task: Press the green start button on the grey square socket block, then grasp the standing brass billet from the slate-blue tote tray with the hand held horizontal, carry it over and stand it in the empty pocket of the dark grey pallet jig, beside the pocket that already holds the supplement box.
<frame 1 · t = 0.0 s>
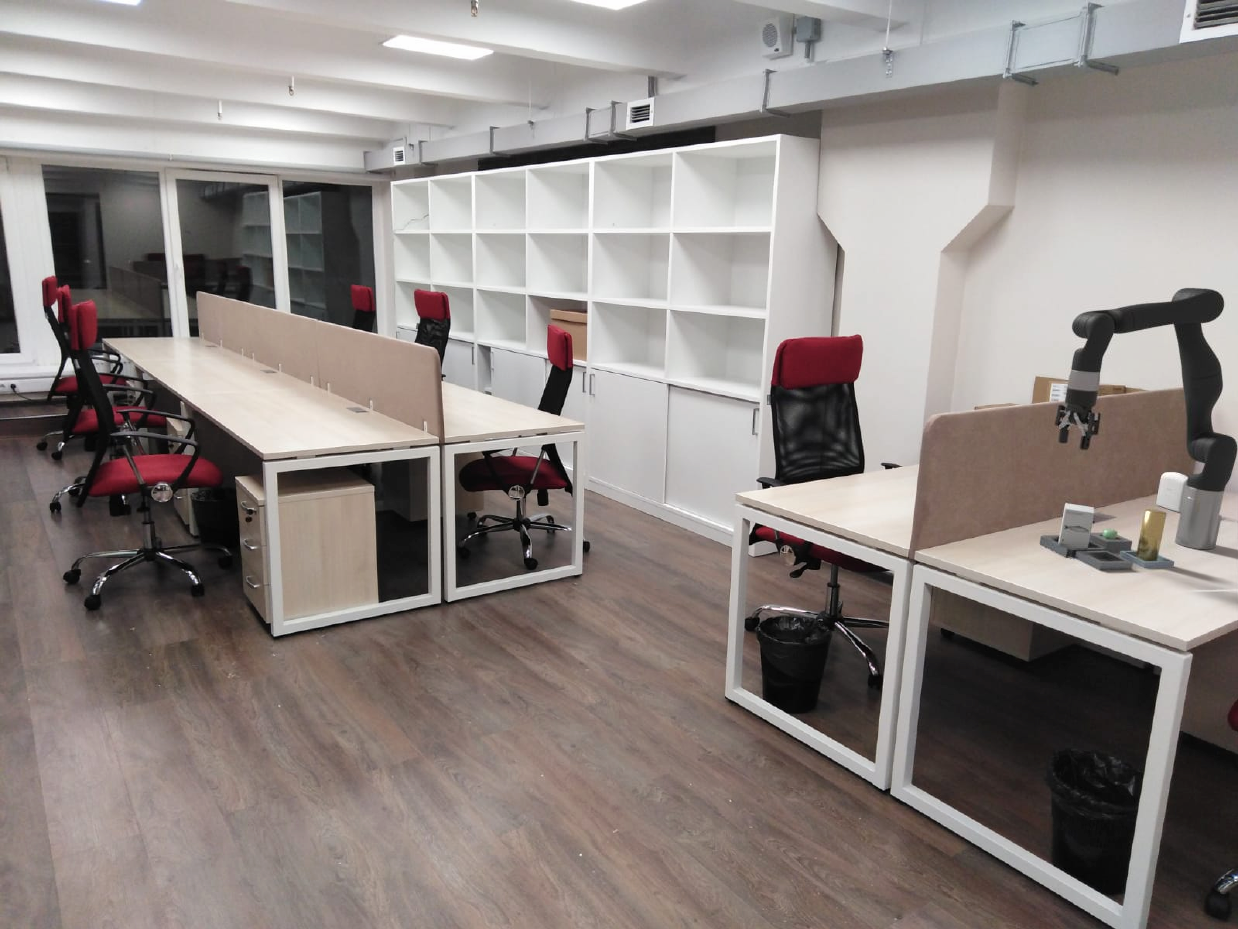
hand: (1072, 446, 237), 29 cm above the table, tool pointing down, fingers open, 8 cm apart
start button: (1109, 535, 244), point 4 cm above the table, slide at 0.0 cm
billet: (1145, 561, 234), resting on tote tray
pallet: (1086, 557, 236), on the table
tote tray: (1145, 563, 234), on the table
supplement box: (1071, 551, 242), resting in pallet
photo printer: (1170, 509, 291), on the table
grey square socket block: (1107, 548, 245), on the table
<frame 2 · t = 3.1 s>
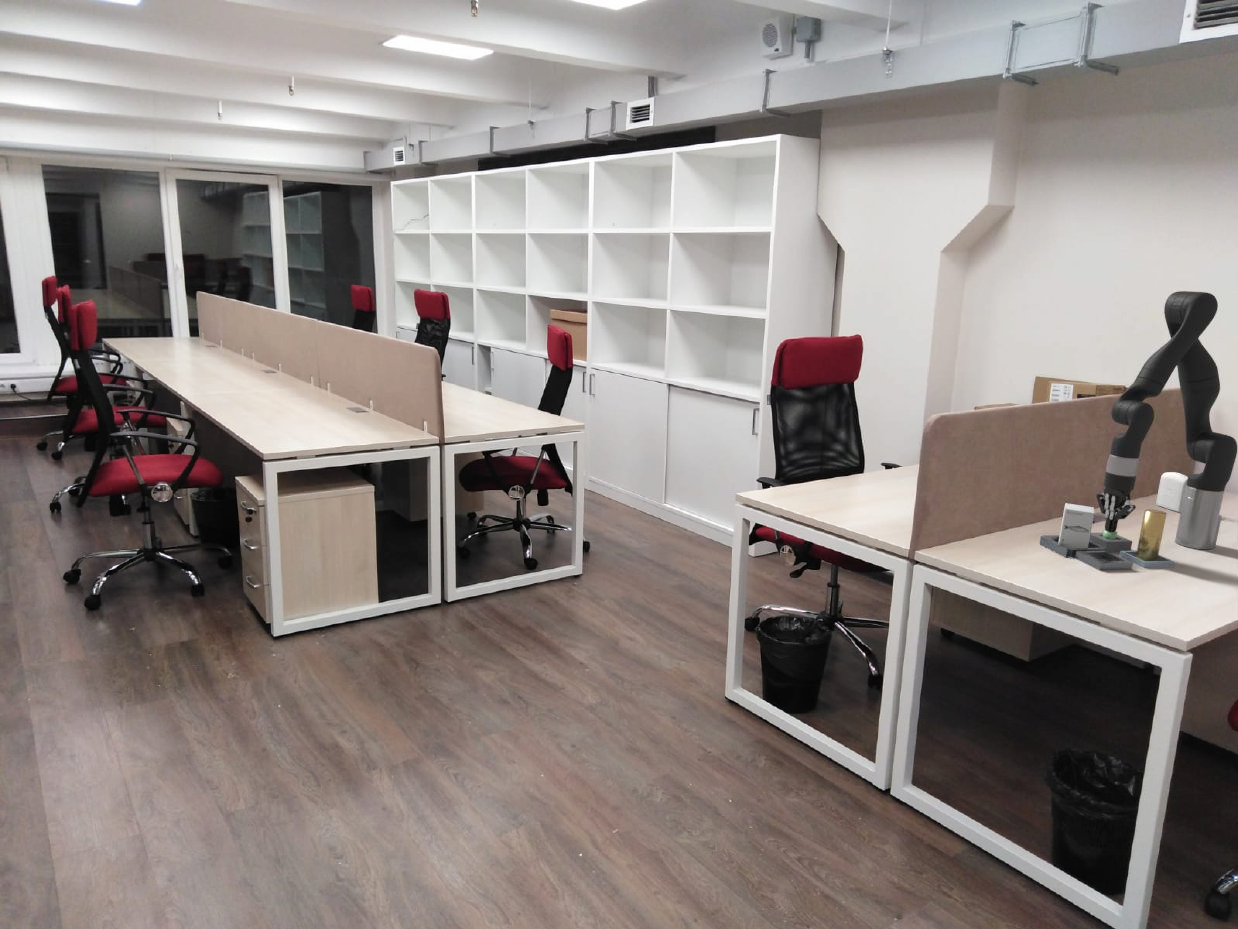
hand: (1109, 531, 244), 5 cm above the table, tool pointing down, fingers closed
start button: (1109, 536, 244), point 4 cm above the table, slide at 0.2 cm, touching gripper
everything else where it was.
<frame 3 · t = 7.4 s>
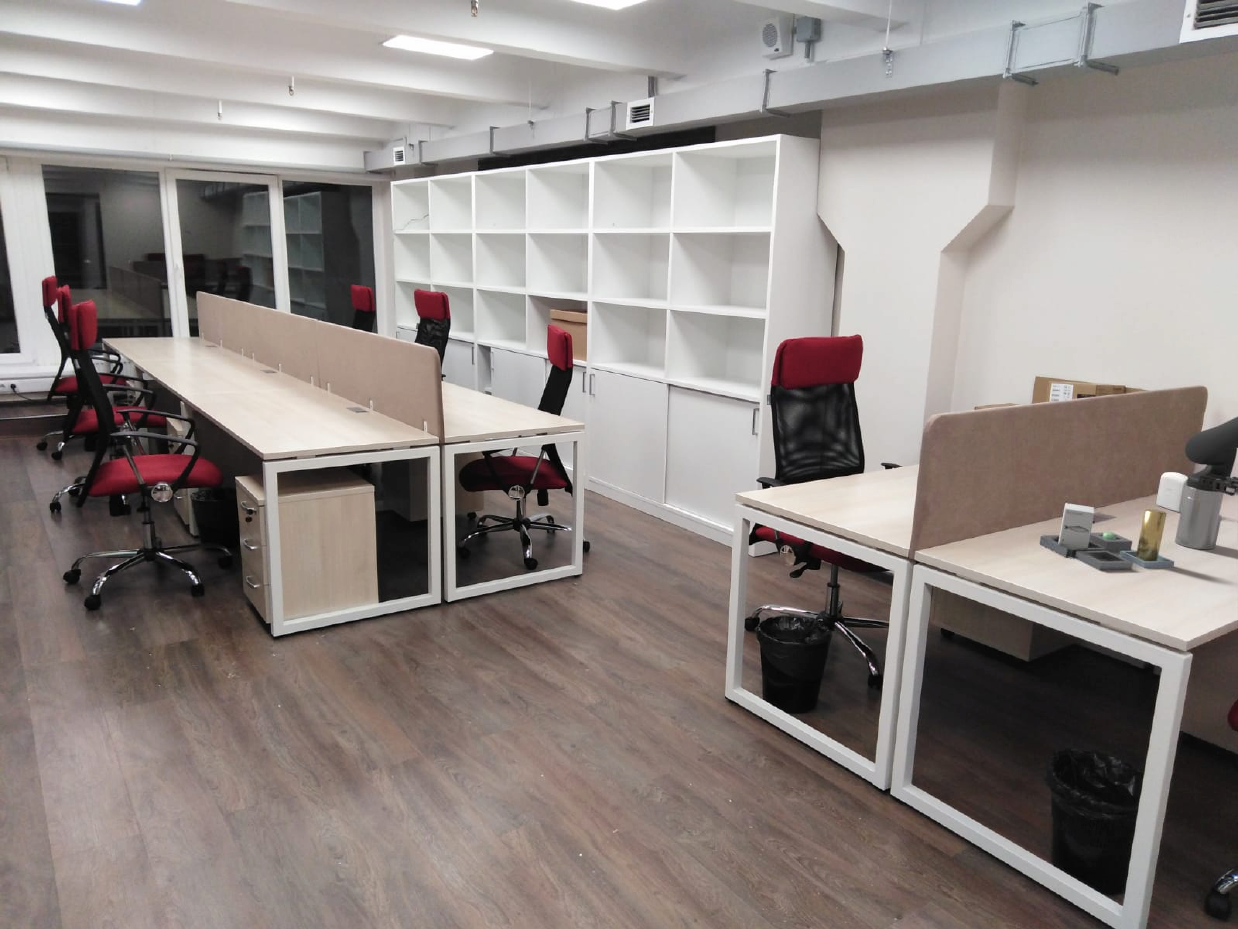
hand: (1204, 478, 219), 26 cm above the table, tool horizontal, fingers open, 3 cm apart
start button: (1109, 538, 244), point 3 cm above the table, slide at 0.9 cm
everything else where it was.
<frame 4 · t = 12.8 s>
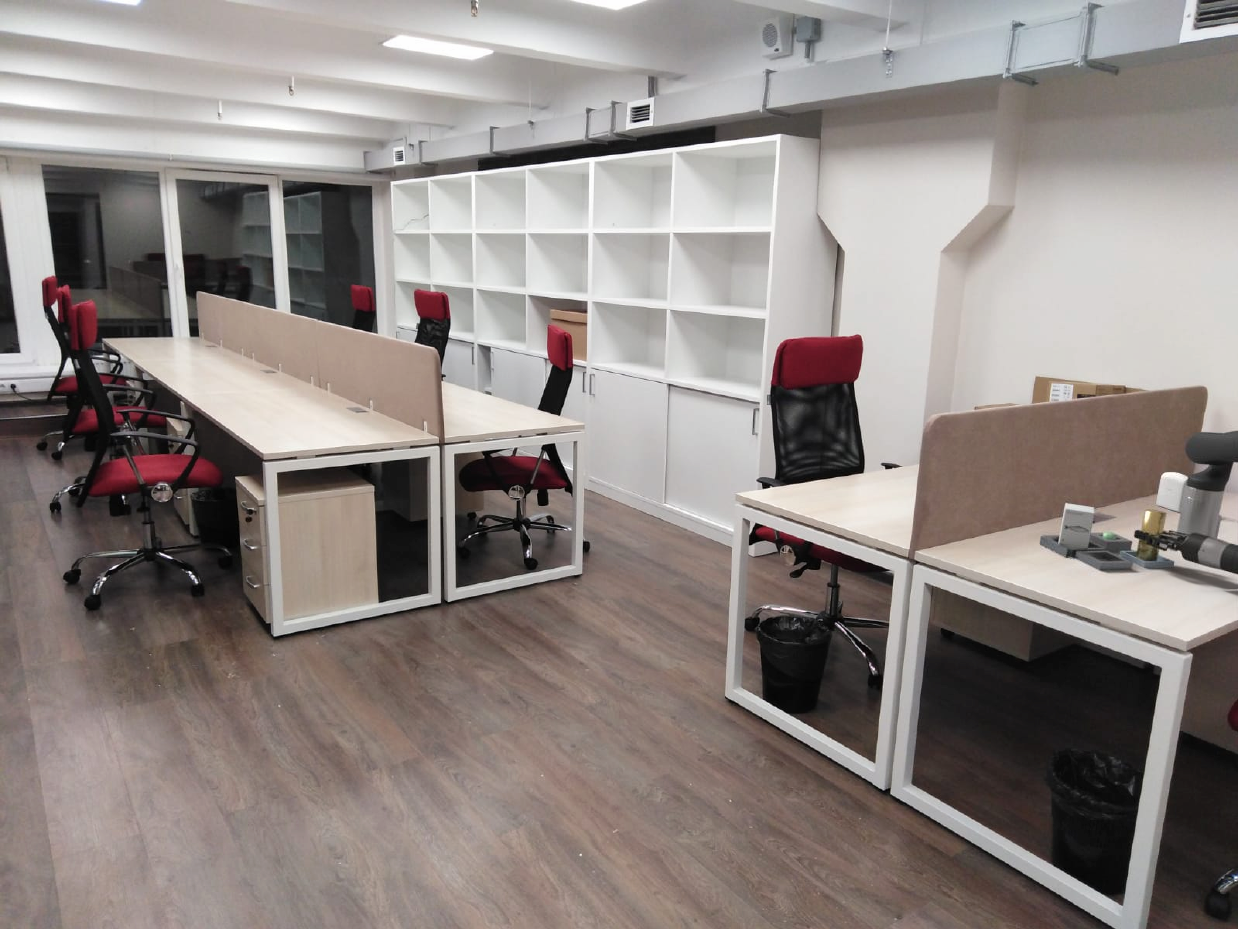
hand: (1141, 532, 234), 8 cm above the table, tool horizontal, fingers closed on billet, 5 cm apart
billet: (1145, 561, 234), point 1 cm above the table, touching gripper, tote tray
everything else where it was.
when the fingers open (9 cm above the table, at t = 17.9 s): billet drops 1 cm, resting in pallet.
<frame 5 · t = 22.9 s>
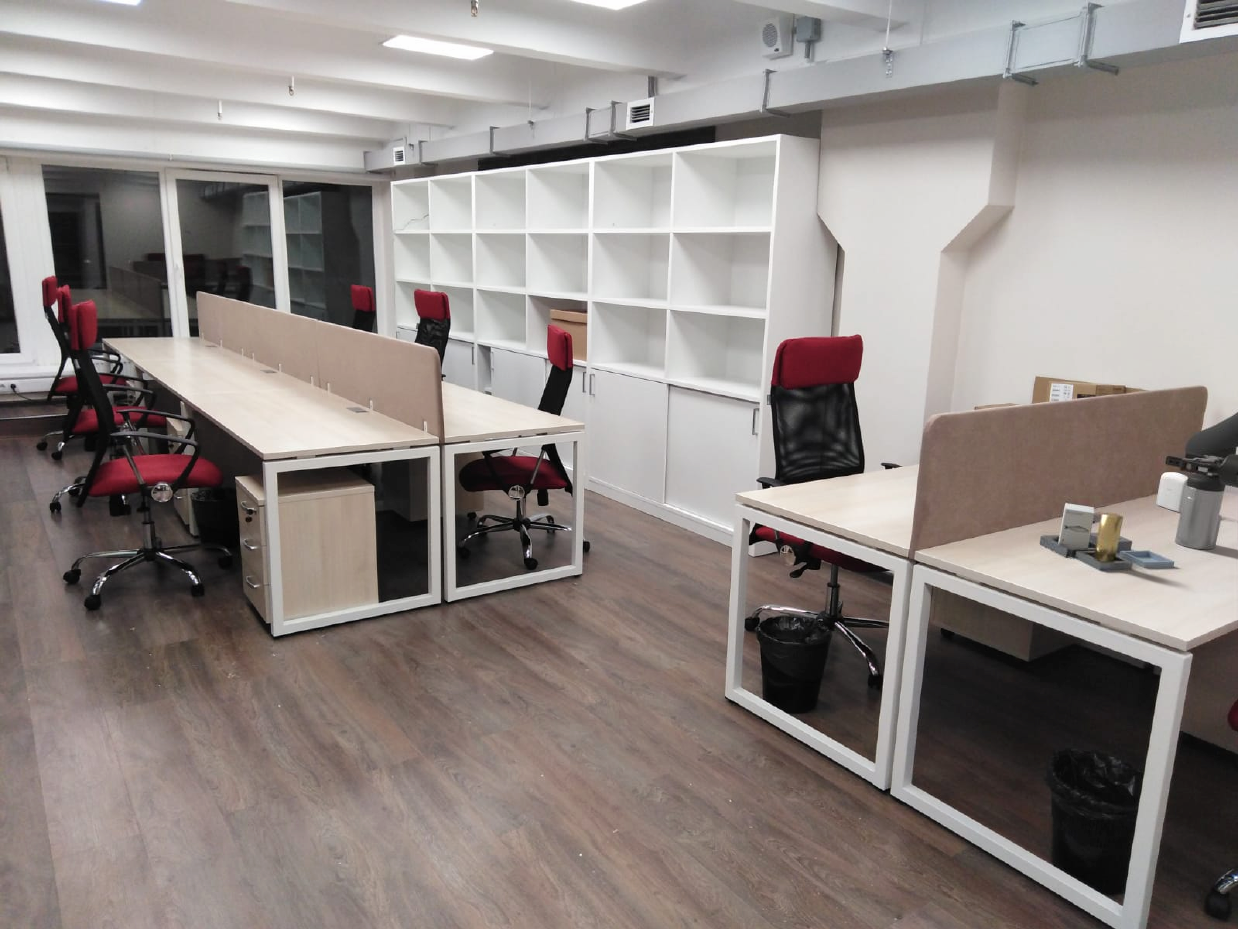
hand: (1176, 458, 213), 32 cm above the table, tool horizontal, fingers open, 8 cm apart
billet: (1103, 565, 230), resting in pallet
everything else where it was.
at the end: billet 0.1 cm from the target spot on the pallet, point 0.0 cm above the pallet's base; billet tilted 0°; start button slide at 0.9 cm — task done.
